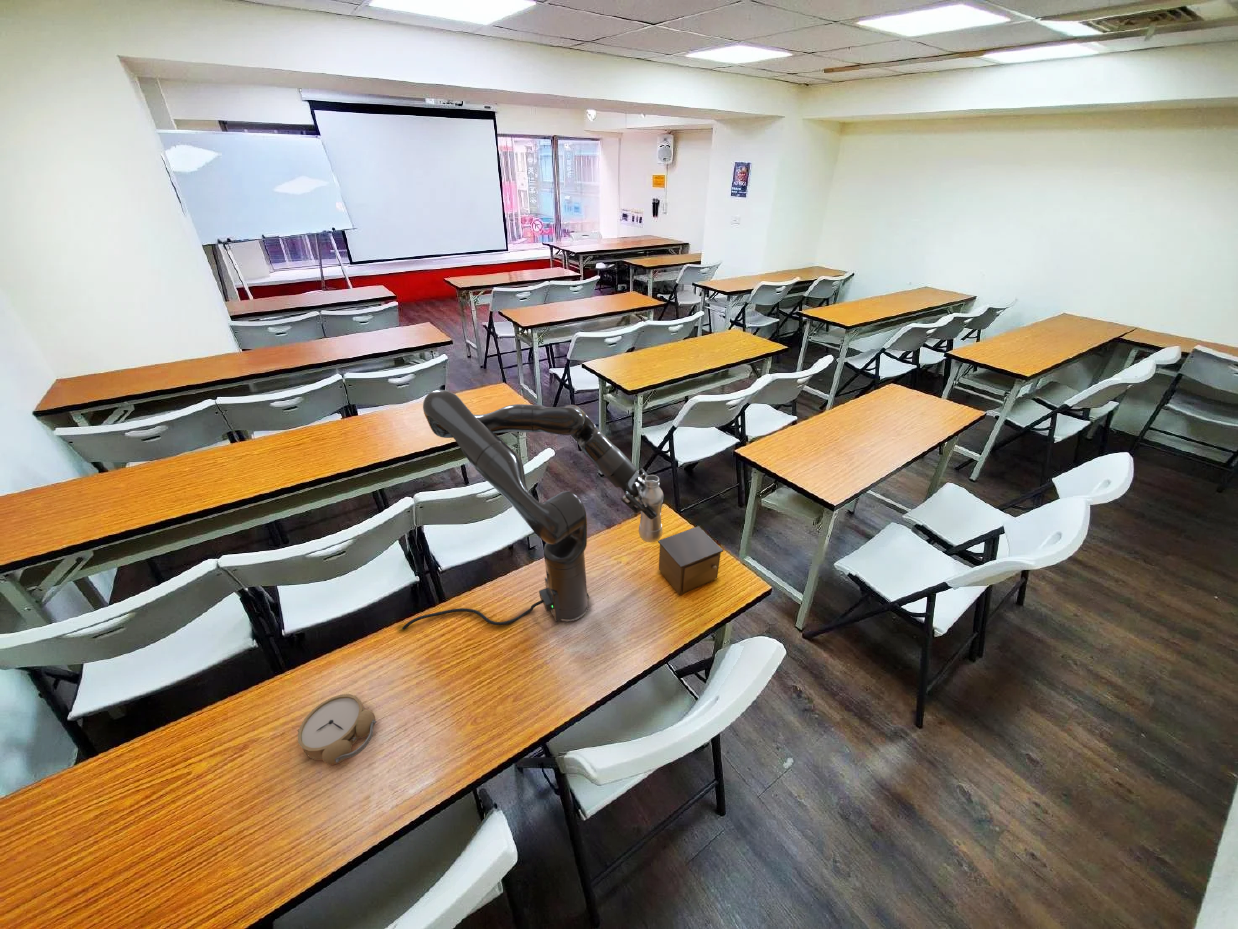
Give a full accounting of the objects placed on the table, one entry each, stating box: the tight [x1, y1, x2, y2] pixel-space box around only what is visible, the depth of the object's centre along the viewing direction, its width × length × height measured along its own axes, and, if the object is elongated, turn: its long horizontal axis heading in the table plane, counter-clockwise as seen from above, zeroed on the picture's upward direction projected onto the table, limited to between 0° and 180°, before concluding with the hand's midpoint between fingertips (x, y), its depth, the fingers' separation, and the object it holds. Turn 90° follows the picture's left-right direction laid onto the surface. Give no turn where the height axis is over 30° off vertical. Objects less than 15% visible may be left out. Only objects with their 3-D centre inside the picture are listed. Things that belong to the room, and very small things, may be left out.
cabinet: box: [657, 525, 724, 596], centre depth 122 cm, size 13×12×11 cm
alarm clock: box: [296, 693, 377, 766], centre depth 90 cm, size 11×5×15 cm
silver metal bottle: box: [637, 474, 665, 544], centre depth 126 cm, size 6×7×20 cm
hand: (657, 509), depth 125 cm, fingers closed on silver metal bottle, 6 cm apart
